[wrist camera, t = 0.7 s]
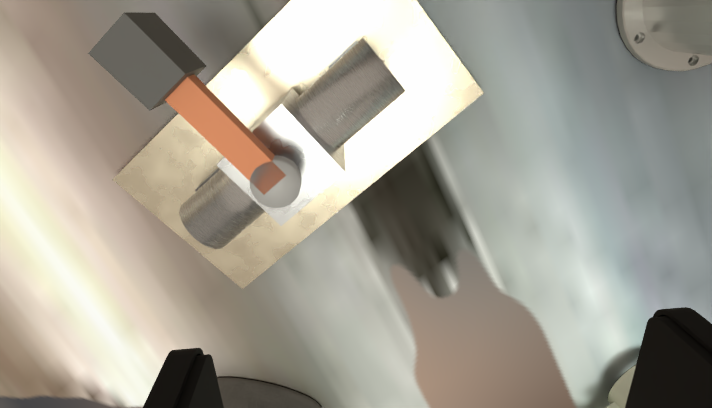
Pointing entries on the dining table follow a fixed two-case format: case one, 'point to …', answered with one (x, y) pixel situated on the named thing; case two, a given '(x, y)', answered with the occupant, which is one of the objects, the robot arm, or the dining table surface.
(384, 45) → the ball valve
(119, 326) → the dining table surface
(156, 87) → the valve lever
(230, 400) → the flask
